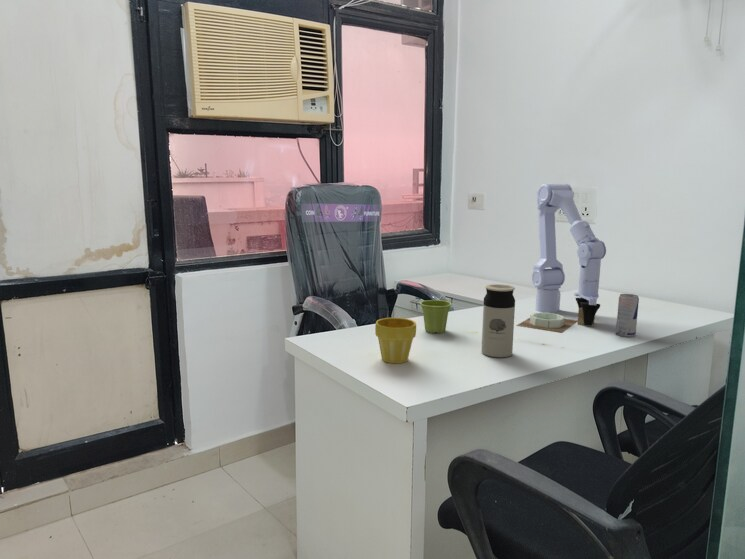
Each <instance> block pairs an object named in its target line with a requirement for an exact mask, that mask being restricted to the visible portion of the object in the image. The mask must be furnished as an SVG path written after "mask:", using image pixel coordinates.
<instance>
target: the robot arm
mask: <svg viewBox="0 0 745 559" xmlns="http://www.w3.org/2000/svg"><path fill="white" fill-rule="evenodd" d="M574 196H575V191H573V188H572V186H571V185H570V184H568V183H562V184H561V183H558V184H557V183H556V184H555V183H542V185H541V186H539V188H538V190H537V191H536V202H537V204H536V205H537V215H538V216H537V217H538V238H539V239H538V240H539V261H537V262H536V263H535V264H534V265H533V267H532V269H533V270H532V274H531V282H532V285H534V288H536V292H535V293H536V295H535V311H536V312H537V313H553V314H556V313H558V311H562V309H560V307H561V291H560V289H561V288H562V286H563V285H564V284H565V280H566V275H565V272H564V271H565V270H564V268H563V264H562V263H561V262H560V261H559V260H558V259H557V242H556V240H557V238H556V216H555V215H556V214H555V213H556V212H557V211H558V210H559V209H560V210H561V211H562V213H563V214H564V216H565V217H566V219H567V220H568V222H569V224H570V228H569V232H570V233H571V235H572V237H573V239H574V241H575V243H576V245H577V247H578V249H577V250H576V255H577V258H578V263H579V279H578V280H579V281H578V292H574V293H573V294H574V295H573V296H574V297H575V298H574V299H575V301H576V304H577V307H578V309H579V308H581V307H582V310H583V320H584V325H590V326H589V327H592V326H593V325H592V323H593V320H594V321H595V319H594V317H596V315H597V312H598V310H599V309H600V308H601V304H600V303H597V302H598V301H597V300H598V298H599V297H600V296H599V287H600V277H601V261H602V260H603V259H604V258H605V257H606V253H607V248H606V247H607V246H606V245H605V242H604V241H602V240H600V239H599V238H598V237H597V236H596V235H595V234H594V232H593V230H592V228H591V224H590V223H589V222H588V221H586V220H582V217H581V214H580V213H579V210H578V208H577V205H576V204H575V201H574ZM584 325H583V326H584Z"/></svg>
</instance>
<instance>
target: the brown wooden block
mask: <svg viewBox="0 0 745 559" xmlns="http://www.w3.org/2000/svg"><path fill="white" fill-rule="evenodd" d="M577 313H578V314H577V321H578V322H577V326H579V325H580V326H585V327H591V326H590V325H584V320H583V310H582V307H581V308H579V307H578V312H577ZM595 317H596V316H595ZM595 317H594V320H593V323H592V326H594V324H595Z"/></svg>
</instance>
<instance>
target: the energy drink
mask: <svg viewBox="0 0 745 559" xmlns="http://www.w3.org/2000/svg"><path fill="white" fill-rule="evenodd" d="M639 300H640V298H639V295H636V294H633V293H620V294H619V296H618V305H617V306H618V307H617V315H616V316H617V317H616V326H615V332H616V333H615V334H616V335H617V336H620V337H623V336H624V337H623V338H634V337H635V336H636V334H637V324H638V323H637V322H638V312H639V303H640V302H639Z"/></svg>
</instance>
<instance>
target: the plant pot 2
mask: <svg viewBox="0 0 745 559" xmlns="http://www.w3.org/2000/svg"><path fill="white" fill-rule="evenodd" d="M419 304H420V306H421V309H422V315H423V322H424V325H423V326H424V330H425V332H427V333H432V334H434V333H438V334H442V333H445V332H446V329H447V322H448V316H449V312H450V307H451V306H452V303H451V302H450V301H448V300H440V299H429V300H422V301H420V302H419Z"/></svg>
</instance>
